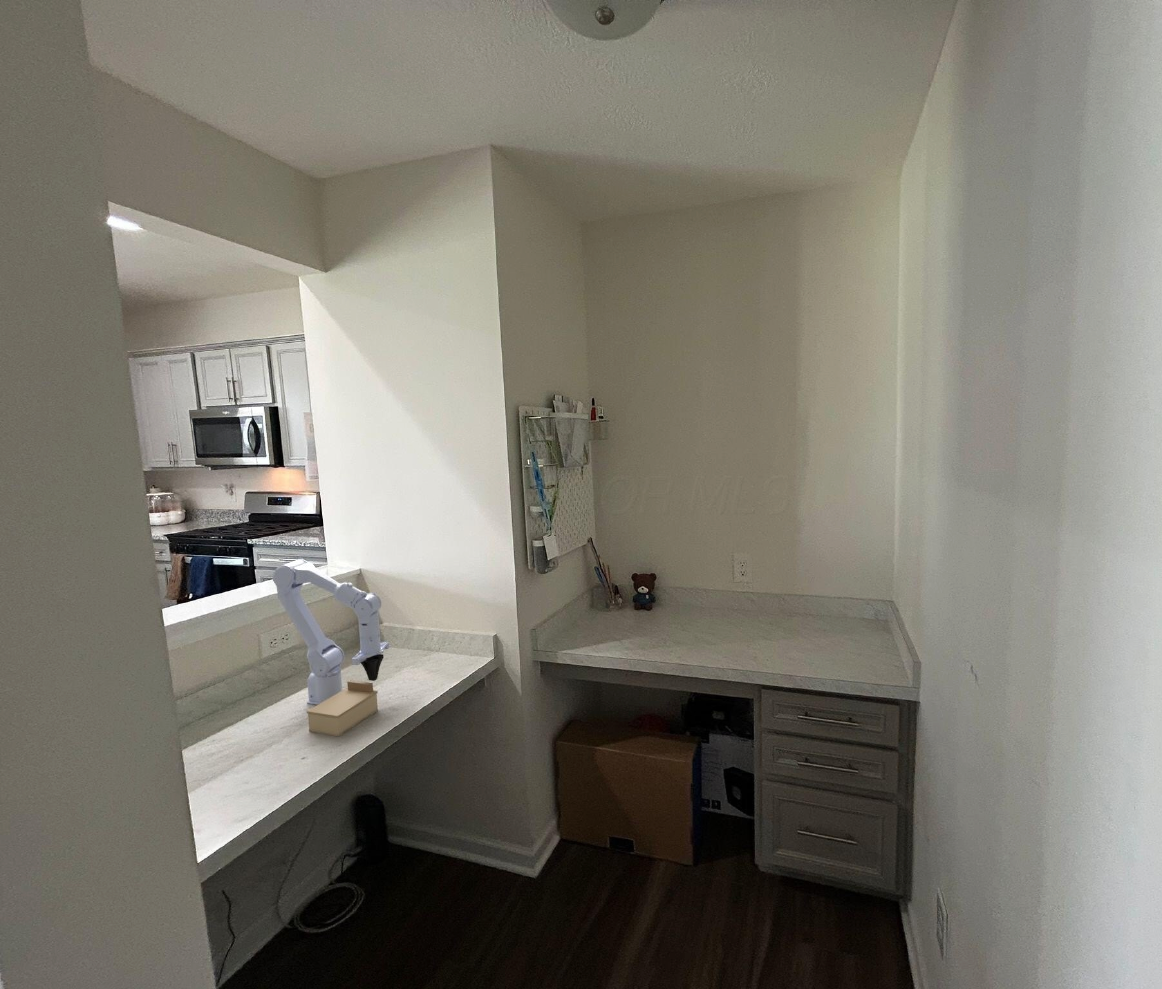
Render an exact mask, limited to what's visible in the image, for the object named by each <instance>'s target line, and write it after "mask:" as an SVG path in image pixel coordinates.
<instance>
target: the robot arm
mask: <svg viewBox="0 0 1162 989" xmlns="http://www.w3.org/2000/svg"><path fill="white" fill-rule="evenodd" d="M272 582H274V584H275V587H276V592H277V598H278V599H279V601H280V603H281V605H282V607H283V608H284V610H285V611H286V613H287V615H288V617H289V619H291V621H292V623H293V625H294V627H295V628H296V629H297V631H298V633H299V635H300V636H301V638H302V640H303V641H304V643H305V645H306V646H307V653H306V659H307V661H308V663H309V670H310V671H311V673H309V676H308V678H307V682H306V683H307V684H306V685H307V695H308V700H307V701H306V703H307V704H311V705H315V706H316V705H318V704H320V703H322V702H323V701H325V700H327V699H328V698H330V697H332V696H334V695H335V694H337V693H339V692H341V691H342V690H343V680H342V663H343V662H344V660H345V652H344V650H343V649H342V647H340V646H338V645H337V644H336V643H335V641H334V640H333V639H330V638H328V637H326V635H325V634H324V632H323V630H322V629H321V628H320V626H319V624H318V623H317V620H316V619H315V616H313V614H312V612H311V610H310V609H309V607H308V605H307V604H306V602H305V600H304V599H303V597H302V596H301V591H302V587H303V585H304V584H307V583H310V584H311V585H313V586H316V587H318V588H321V589H323V590H324V591H326V592H329V593H331V594H333V598H334V600H336V601H337V602H340V603H341V604H342V605H345V606H346V607H348V608H350V609H351V610H353V613H354V614H355V616H356V618H357V622H358V631H359V632H358V633H359V647H360V650H359V652H358V653H356V655H355V656H353V657H351V665H352V666H359V665H361V666H362V668H364V671H365V674H366V675H367V679H368V681H371V682H375V681H377V680H378V677H379V672H380V667H381V665H382V661H383V660H384V654H383V653H385V651H384V650H388V649H390V642H388V641H382V642H381V632H380V630H381V629H380V617H379V610H380V609H381V607H382V600H381V598H380V597H379V596H378V595H377V594H376V593H374V592H369V593H367V592H366V591H365V590H361V589H359V588H357V587H355V586H354V584H353V583H352V582H347V581H346V582H345V581H344V582H343V583H340V582H338V581H337V580H335V579H333V578H332V577H331V576H329V575H327V574H325V573H324V572H323V571H321V570H320V569H318V568H316V566H315V565H314V564H313V563H311V562H308V561H307V560H305V559H304V558H299V559H296V560H294V561H291V562H288V563H285V564H283V565H278V566H277V567H276V569H275V571H274V572H273V576H272Z"/></svg>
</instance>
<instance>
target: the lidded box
mask: <svg viewBox="0 0 1162 989" xmlns="http://www.w3.org/2000/svg"><path fill="white" fill-rule="evenodd" d="M378 706H379V705H378V693H377V694H375V695H374V696H372V697H371V698H369V699H367V700H366V701H364V702H363V703H361V704H359V705H358V706H356V707H355V708H353V709H351V710H350V711H348V712H347V713H345V714H344V715H342V716H340V717H339V718H333V717H327V716H321V715H315V714H308V713H307V718H308V719H307V720H308V730H309V731H308V732H311V733H317V734H322V735H323V734H324V735H329V736H335V737H340V736H342V735H343V734H345V733H346V732H348V731H349V730H351V729H352V728H354V727H356V726H357V725H359V724H360V723H362V722H363V721H365V720H366V719H367V718H369V717H370V716H372V715H374V713H376V712H378V708H379V707H378Z"/></svg>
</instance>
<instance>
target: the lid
mask: <svg viewBox="0 0 1162 989" xmlns="http://www.w3.org/2000/svg"><path fill="white" fill-rule="evenodd" d="M375 694H377V695H378V690H374V685H373V682H366V681H359V680H352V679H351V680H350V679H349V680H348V681H347V687H346V688H344V689H342V691H341V692H339V693H337V694H335V695H334V696H332V697H330V698H328V699H327V700H325V701H323V702H322V703H320V704H318V705H315V706H313V707H311V708H310V709H308V710H307V711H306V714H307V715H308V714H315V715H321V716H327V717H333V718H339V717H340V716H342V715H344V714H345V713H347V712H348V711H350V710H351V709H353V708H355V707H356V706H358V705H359V704H361V703H363V702H364V701H366V700H367V699H369V698H371V697H372V696H374V695H375Z"/></svg>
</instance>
